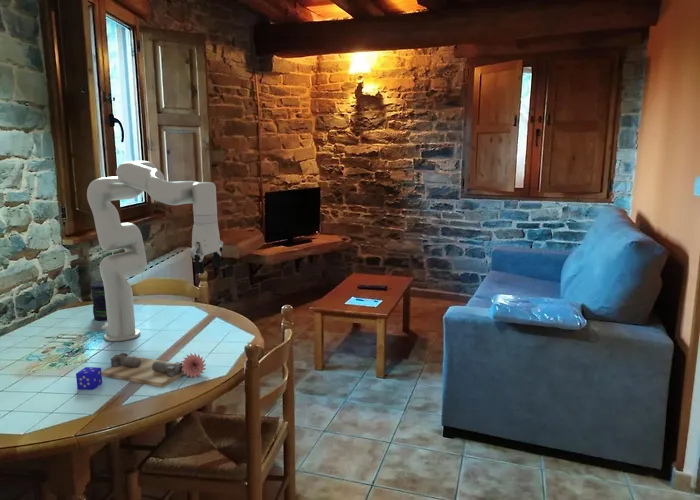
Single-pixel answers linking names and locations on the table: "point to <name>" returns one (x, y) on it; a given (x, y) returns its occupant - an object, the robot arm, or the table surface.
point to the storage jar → (99, 301)
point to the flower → (193, 365)
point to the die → (89, 378)
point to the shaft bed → (143, 370)
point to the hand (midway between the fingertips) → (208, 270)
